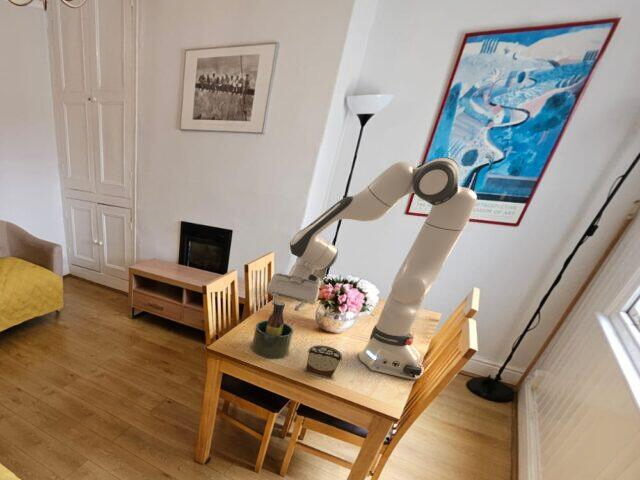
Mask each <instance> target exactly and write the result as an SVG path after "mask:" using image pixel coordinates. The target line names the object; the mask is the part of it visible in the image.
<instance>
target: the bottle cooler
mask: <svg viewBox="0 0 640 480" xmlns="http://www.w3.org/2000/svg"><path fill="white" fill-rule="evenodd" d="M267 323H268V319H266V320H261V321H258V322H257V323H256V325H255V328H254V333H253V339H252V343H251V349H252V351H253V352H254V353H255V354H257V355H258V356H260V357H264V358H268V359H281V358H283V357H286V356H287V355H288V352H289V349H290V345H291V341H292V337H293V335H294V329H293V327H292V326H291V325H289V324H288V323H285V322H284V324H283V328H282V333H281V336H274V335H269V334H266V333H265V332H266V327H267Z"/></svg>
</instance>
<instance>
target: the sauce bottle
mask: <svg viewBox="0 0 640 480" xmlns="http://www.w3.org/2000/svg"><path fill="white" fill-rule="evenodd" d="M285 307H286V303H285V302H284V301H278V300H277V302H275V303H274V305H273V310H272V313H271V314H270V315H269V317H268V319H267V320H268V323H267V327H266V332H265V333H266V334H269V335H274V336H281V333H282V328H283V324H284V323H285V321H284V308H285Z"/></svg>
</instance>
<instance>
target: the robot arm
mask: <svg viewBox="0 0 640 480" xmlns="http://www.w3.org/2000/svg"><path fill="white" fill-rule="evenodd" d="M459 177H460V167H459V164H458V163H457V162H456V160H454V159H453V158H451V157H445V156H444V157H437V158H435V159H432V160H429V161H427V162H424V163H422V164H419V165H418V166H414V165H413V164H411V163H409V162H407V161H397V162H395V163H393V164H391V165H390V166H389V167H388V168H386V169H385V170H384V171H382V172H381V173H380V174H379V175H378V176H377V177H375V179H374V180H372V181H371V182H370V183H369V185H368V186H366V187H365V189H363V190H362V191H360V192H358V193H356V194H355V195H349V196H345V197H343V198H342V199H340V200H338V201H337V202H336V203H335V204H333V205H331V207H329V209H327V210H326V211H324V212H323V213H322V214H321V215H320V216H318V217H317V218H316V219H314V221H312V222H311V223H309V224H308V225H307V226H306V227H304V228H303V229H301V230H299V231H298V232H297V233H296V234H294V235H293V236H292V239H291V240H290V242H289V249H290V253H291V255H293V256H296V259H295V263H294V264H293V265H292V267H291V269H290V271H289V272H288V274H285V273H281V272H277V273H275V274H273V275H272V277H271V278H270V281H269V283H268V285H267V286H266V292H267V293H268V294H269V295H272V302H271V305H273V306H274V303H275V302H277V301H278V300H277V299H276V298H278V297H281V298H284V299H288V300H293V301H297V302H300V303H299V304H298V305H295V307H294V311H296V312H299V311H300V309H301V308H303V307H304V306H305V305H306V304H307V305H312V306H313V305H315V304H316V303H317V301H318V299H319V296H320V289H321V288H320V286H321V281H320V278H319V277H317V276H315V275H313V273H314V271H315V270H322V269H326V270H327V269H329V268H331V267H332V266H333V265H334V264H335V262H336V261H337V259H338V255H339V248H338V247H336V246H335V245H334V244H332V243H331V242H329V241H327V240H326V239H324V238H322V237H321V236H319V234H321V233H322V232H324V231H325V230H326V229H327V228H329V227H330V226H331V225H333V224H334V223H335V222H337V221H341V220H354V221H358V222H374V221H376V220H379V219H381V218H382V217H384V216H385V215H386V214H387V213H389V211H390V210H392V208H394V207H395V206H396V205H397V204H398V203H400V201H401V200H403V198H405V197H406V196H408V195H410V194H415V195H416V197H418V198H419V199H420V200H423V201H425V202H427V203H428V204H429V205H431V208H430V211H429V213H428V214H427V216H426V218H425V221H424V222H423V224H422V225H421V228H420V229H419V231H418V233H417V235H416V237H415V239H414V241H413V243H412V245H411V246H410V249H409V251H408V252H407V254H406V256H405V257H404V260H403V262H402V264H401V265H400V268H399V269H398V271H397V273H396V275H395V277H394V278H393V281H392V283H391V290H390V292H389V294H388V296H387V299H386V301H385V303H384V305H383V308H382V310H381V312H380V315H379V318H378V320H377V322H376V324H375V325H374V326H373V328H372V330H371V332H370V335H369V340H368V342H367V344H366V345H365V347H364V348H363V350H362V351H361V352H360V353H359V354H358V358H359V360H360V361H361V362H362V363H363V364H365V365H366V366H367V367H368V368H369V369H370V370H371V371H373V372H377V373H382V374H386V375H390V376H396V377H398V378H399V377H400V378H404V379H408V380H412V381H413V380H414V381H416V380H419V379H421V377H422V376H423V374H424V370H425V367H424V365H423V364H422V363H421V362H422V361H421V359H422V356H421V352H420V351H419V350H418V349H417V348H416V347H415V346H414V345H413V343H414V340H413V339H414V333H411V332H410V331H411V329H412V327H413V325H414V323H415V320H416V318H417V316H418V314H419V311H420V310H421V308H422V305H423V303H424V301H425V298H426V296H427V294H428V293H429V291H430V289H431V287H432V286H433V284H434V282H435V280H436V278H437V277H438V275H439V273H440V272H441V270H442V268H443V266H444V264H445V263H446V261H447V259H448V258H449V255H450V254H451V252H452V251H453V248H454V247H455V245H456V243H457V242H458V240H459V239H460V237H461V235H462V233H463V232H464V230H465V228H466V226H467V225H468V223H469V221H470V219H471V217H472V214H473V211H474V210H475V207H476V204H477V200H478V196H477V193H476V192H475V191H474V190H472V189H470V188H468V187H464V186H461V185H460V184H459ZM321 287H322V286H321ZM319 288H320V289H319Z"/></svg>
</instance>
